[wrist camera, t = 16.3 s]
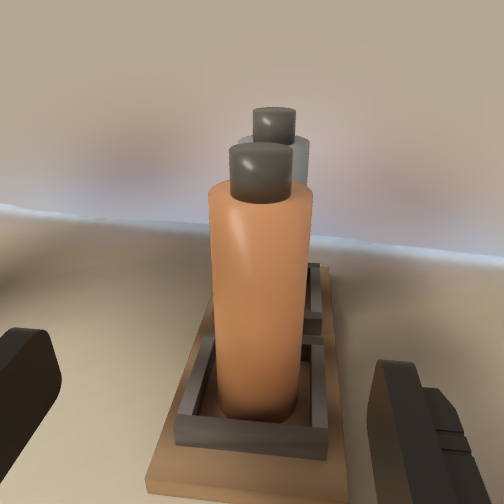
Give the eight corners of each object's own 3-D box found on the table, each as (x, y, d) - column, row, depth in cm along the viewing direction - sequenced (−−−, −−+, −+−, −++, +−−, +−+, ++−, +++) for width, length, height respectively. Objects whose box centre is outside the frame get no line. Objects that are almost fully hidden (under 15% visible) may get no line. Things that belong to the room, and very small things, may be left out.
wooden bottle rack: (346, 516, 20) (352, 482, 19) (147, 493, 21) (140, 459, 20) (327, 278, 39) (330, 253, 38) (224, 272, 40) (223, 247, 39)
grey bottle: (299, 320, 32) (311, 118, 25) (237, 316, 32) (231, 116, 25) (300, 286, 36) (311, 105, 29) (245, 283, 36) (242, 104, 29)
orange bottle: (296, 433, 23) (317, 167, 16) (210, 424, 23) (193, 162, 16) (298, 370, 27) (315, 138, 20) (225, 364, 27) (217, 135, 20)
